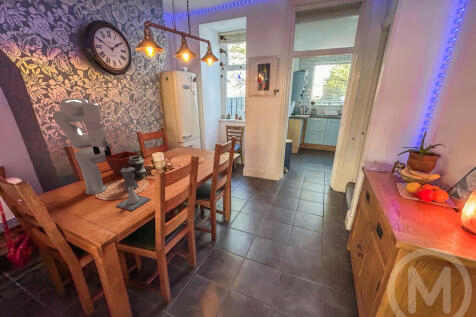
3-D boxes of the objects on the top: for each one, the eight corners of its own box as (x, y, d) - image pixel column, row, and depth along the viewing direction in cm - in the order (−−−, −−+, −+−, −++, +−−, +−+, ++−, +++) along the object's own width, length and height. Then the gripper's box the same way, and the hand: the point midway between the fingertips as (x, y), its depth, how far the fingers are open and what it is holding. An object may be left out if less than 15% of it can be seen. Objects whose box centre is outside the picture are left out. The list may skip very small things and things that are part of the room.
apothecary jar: (145, 179, 149) (141, 159, 143) (128, 181, 146) (124, 160, 140) (148, 173, 160) (144, 154, 154) (133, 175, 157) (129, 155, 151)
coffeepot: (120, 188, 134) (114, 166, 128) (131, 183, 142) (127, 162, 136) (133, 193, 127) (128, 170, 121) (145, 187, 135) (141, 165, 130)
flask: (130, 198, 119) (127, 185, 116) (141, 198, 119) (139, 184, 116) (124, 205, 112) (121, 190, 109) (136, 204, 113) (133, 190, 109)
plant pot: (108, 175, 157) (103, 156, 152) (128, 167, 174) (125, 151, 168) (123, 178, 150) (119, 159, 145) (142, 170, 167) (139, 153, 161)
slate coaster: (116, 206, 112) (115, 205, 112) (135, 195, 125) (135, 194, 124) (132, 211, 107) (132, 210, 107) (150, 199, 120) (150, 198, 119)
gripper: (78, 126, 100) (86, 155, 106) (98, 128, 94) (106, 158, 100) (92, 124, 107) (99, 151, 112) (112, 125, 101) (119, 154, 106)
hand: (103, 155), depth 106 cm, fingers open, 9 cm apart
